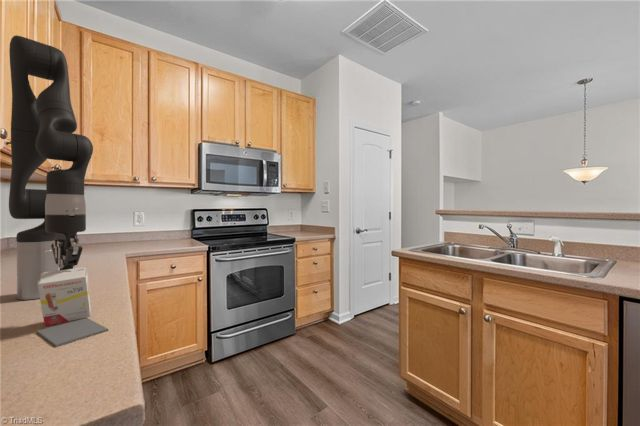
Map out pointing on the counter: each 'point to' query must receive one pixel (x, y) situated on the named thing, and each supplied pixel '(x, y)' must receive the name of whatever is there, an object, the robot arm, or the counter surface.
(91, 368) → the counter surface
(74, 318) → the ink box
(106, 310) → the counter surface
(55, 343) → the mat
